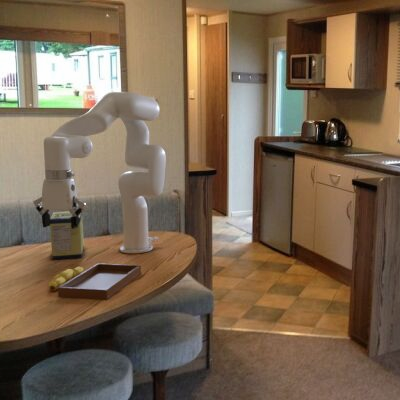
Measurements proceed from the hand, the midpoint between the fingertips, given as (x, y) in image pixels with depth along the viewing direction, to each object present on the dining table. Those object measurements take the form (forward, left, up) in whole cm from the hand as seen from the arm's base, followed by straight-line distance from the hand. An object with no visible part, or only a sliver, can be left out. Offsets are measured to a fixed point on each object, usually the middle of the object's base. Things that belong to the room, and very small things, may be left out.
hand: (60, 227), depth 183 cm
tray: (-6, +13, -18) cm, 23 cm away
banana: (+1, +1, -18) cm, 18 cm away
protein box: (-19, -28, -18) cm, 38 cm away
